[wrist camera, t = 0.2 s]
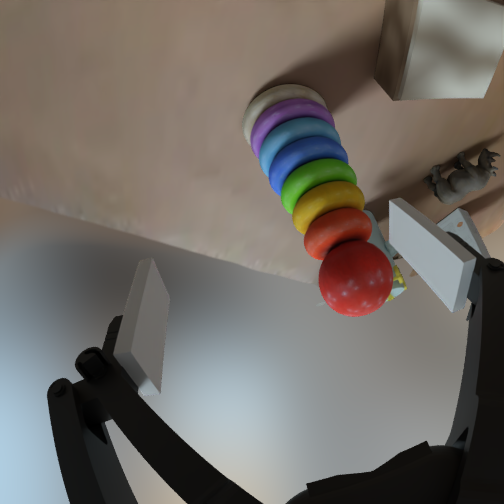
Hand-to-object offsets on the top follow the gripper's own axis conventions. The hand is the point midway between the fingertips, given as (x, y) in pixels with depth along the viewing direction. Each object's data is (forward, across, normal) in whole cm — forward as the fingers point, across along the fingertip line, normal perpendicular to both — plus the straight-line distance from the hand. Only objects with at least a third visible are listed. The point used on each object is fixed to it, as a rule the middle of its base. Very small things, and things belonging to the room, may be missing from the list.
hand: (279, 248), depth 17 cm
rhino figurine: (+23, +32, -6) cm, 40 cm away
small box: (+35, +42, -24) cm, 60 cm away
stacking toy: (+15, +4, +5) cm, 16 cm away
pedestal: (+10, +19, +12) cm, 25 cm away
